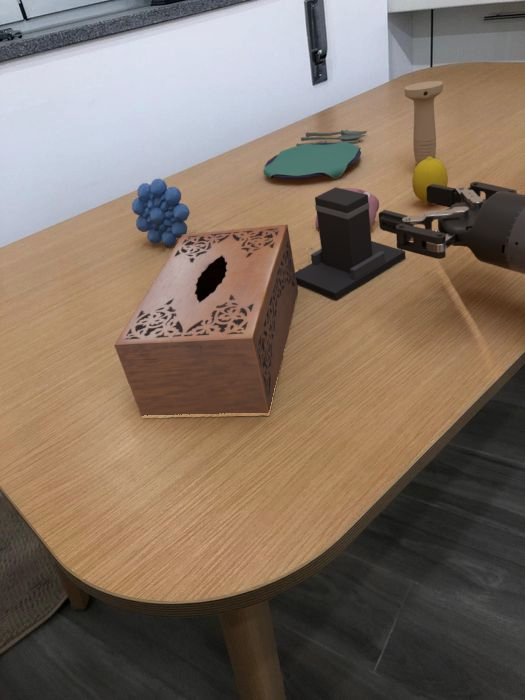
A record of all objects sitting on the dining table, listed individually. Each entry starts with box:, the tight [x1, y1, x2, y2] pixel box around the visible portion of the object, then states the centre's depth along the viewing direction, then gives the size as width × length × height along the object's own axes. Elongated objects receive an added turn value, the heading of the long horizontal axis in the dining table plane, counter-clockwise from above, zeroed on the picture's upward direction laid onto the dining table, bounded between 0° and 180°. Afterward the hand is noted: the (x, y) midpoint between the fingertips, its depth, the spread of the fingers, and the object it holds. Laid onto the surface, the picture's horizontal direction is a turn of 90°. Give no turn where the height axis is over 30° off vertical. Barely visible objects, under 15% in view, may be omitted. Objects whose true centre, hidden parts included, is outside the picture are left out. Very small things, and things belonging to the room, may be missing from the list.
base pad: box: [295, 240, 406, 301], centre depth 85 cm, size 14×9×3 cm, turn 129°
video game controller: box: [314, 187, 380, 231], centre depth 97 cm, size 10×5×7 cm, turn 57°
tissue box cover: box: [113, 224, 299, 417], centre depth 72 cm, size 26×14×10 cm, turn 170°
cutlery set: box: [262, 129, 368, 180], centre depth 127 cm, size 20×30×2 cm, turn 157°
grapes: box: [131, 178, 190, 248], centre depth 101 cm, size 12×7×12 cm, turn 63°
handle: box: [404, 80, 444, 167], centre depth 108 cm, size 5×6×15 cm
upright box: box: [314, 186, 372, 273], centre depth 82 cm, size 4×6×10 cm
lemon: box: [411, 157, 449, 206], centre depth 97 cm, size 6×6×8 cm
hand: (405, 205), depth 72 cm, fingers open, 8 cm apart
